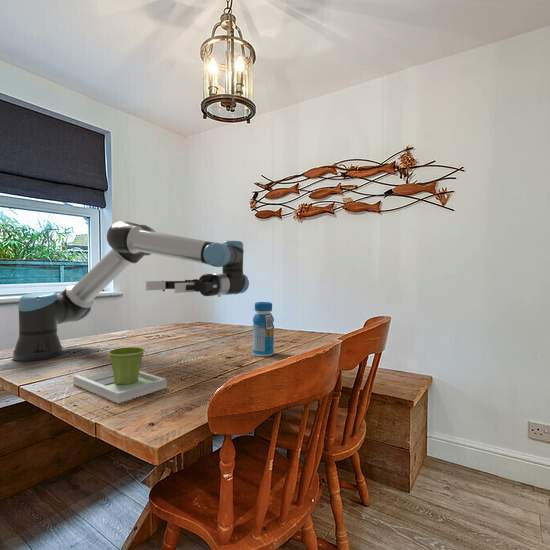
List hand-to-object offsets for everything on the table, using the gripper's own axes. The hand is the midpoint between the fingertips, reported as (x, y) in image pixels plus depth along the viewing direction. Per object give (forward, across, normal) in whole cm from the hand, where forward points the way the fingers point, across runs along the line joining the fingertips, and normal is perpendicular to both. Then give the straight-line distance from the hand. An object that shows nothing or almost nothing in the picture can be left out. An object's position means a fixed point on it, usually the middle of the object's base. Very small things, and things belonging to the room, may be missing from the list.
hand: (160, 286), depth 100 cm
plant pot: (+8, +3, -26) cm, 28 cm away
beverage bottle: (-43, -5, -28) cm, 52 cm away
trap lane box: (+10, +5, -28) cm, 30 cm away
